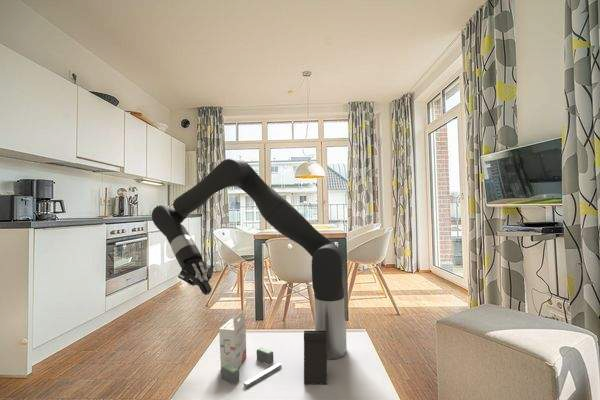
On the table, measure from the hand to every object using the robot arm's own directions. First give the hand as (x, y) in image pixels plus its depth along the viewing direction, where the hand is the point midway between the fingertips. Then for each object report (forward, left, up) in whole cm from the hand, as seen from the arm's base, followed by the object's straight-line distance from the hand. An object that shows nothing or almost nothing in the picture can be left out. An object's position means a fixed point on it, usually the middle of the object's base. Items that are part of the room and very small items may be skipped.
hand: (208, 293), depth 106 cm
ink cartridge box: (0, +12, -19) cm, 22 cm away
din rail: (0, +24, -19) cm, 31 cm away
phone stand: (-9, +35, -19) cm, 41 cm away
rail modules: (0, +18, -19) cm, 26 cm away
